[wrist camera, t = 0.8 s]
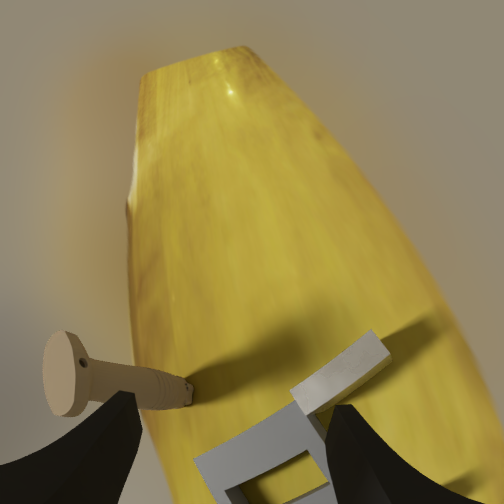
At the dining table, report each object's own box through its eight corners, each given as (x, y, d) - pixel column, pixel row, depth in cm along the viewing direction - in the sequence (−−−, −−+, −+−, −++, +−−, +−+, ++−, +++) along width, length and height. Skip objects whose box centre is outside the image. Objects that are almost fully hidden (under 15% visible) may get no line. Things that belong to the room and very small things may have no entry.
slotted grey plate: (375, 501, 18) (372, 511, 16) (264, 549, 19) (253, 558, 17) (304, 399, 25) (295, 399, 23) (208, 456, 26) (192, 458, 24)
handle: (191, 356, 31) (69, 319, 19) (211, 412, 28) (81, 405, 16) (159, 374, 32) (40, 345, 20) (176, 428, 29) (49, 422, 17)
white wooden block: (392, 360, 23) (390, 353, 18) (324, 411, 24) (305, 415, 19) (377, 341, 24) (371, 329, 20) (311, 391, 25) (289, 390, 20)
